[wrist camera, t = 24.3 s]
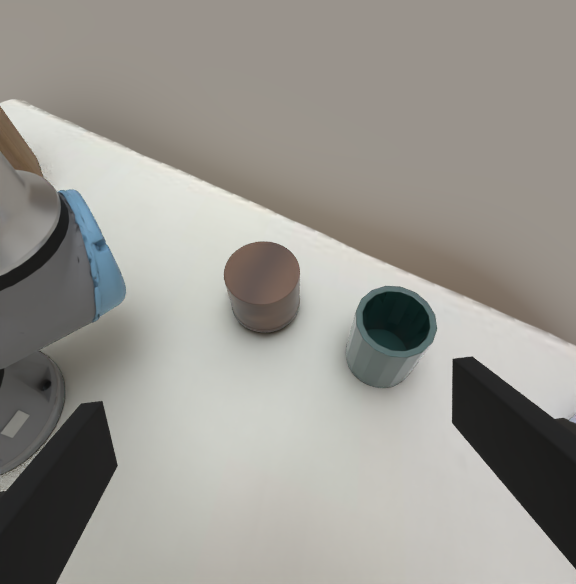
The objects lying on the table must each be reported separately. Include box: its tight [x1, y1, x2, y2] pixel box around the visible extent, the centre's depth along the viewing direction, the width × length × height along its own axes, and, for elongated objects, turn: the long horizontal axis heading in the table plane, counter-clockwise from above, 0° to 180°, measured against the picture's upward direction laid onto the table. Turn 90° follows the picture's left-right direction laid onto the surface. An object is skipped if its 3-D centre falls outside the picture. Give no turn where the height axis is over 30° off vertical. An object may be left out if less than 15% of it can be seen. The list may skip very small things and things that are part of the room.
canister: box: [346, 286, 437, 388], centre depth 45 cm, size 8×8×10 cm
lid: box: [224, 242, 300, 332], centre depth 49 cm, size 9×9×9 cm
